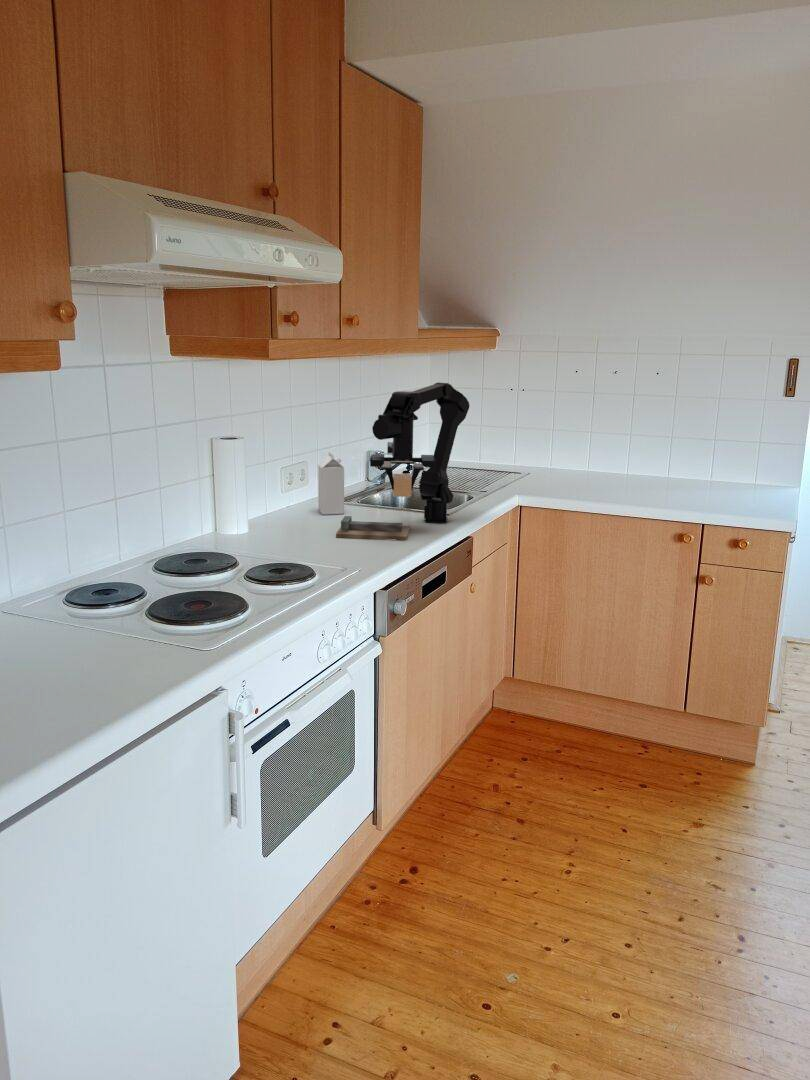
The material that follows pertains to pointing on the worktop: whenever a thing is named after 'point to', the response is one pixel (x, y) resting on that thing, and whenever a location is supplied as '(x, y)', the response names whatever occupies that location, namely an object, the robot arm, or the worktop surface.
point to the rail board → (373, 534)
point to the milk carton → (331, 486)
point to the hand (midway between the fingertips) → (402, 490)
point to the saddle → (402, 485)
